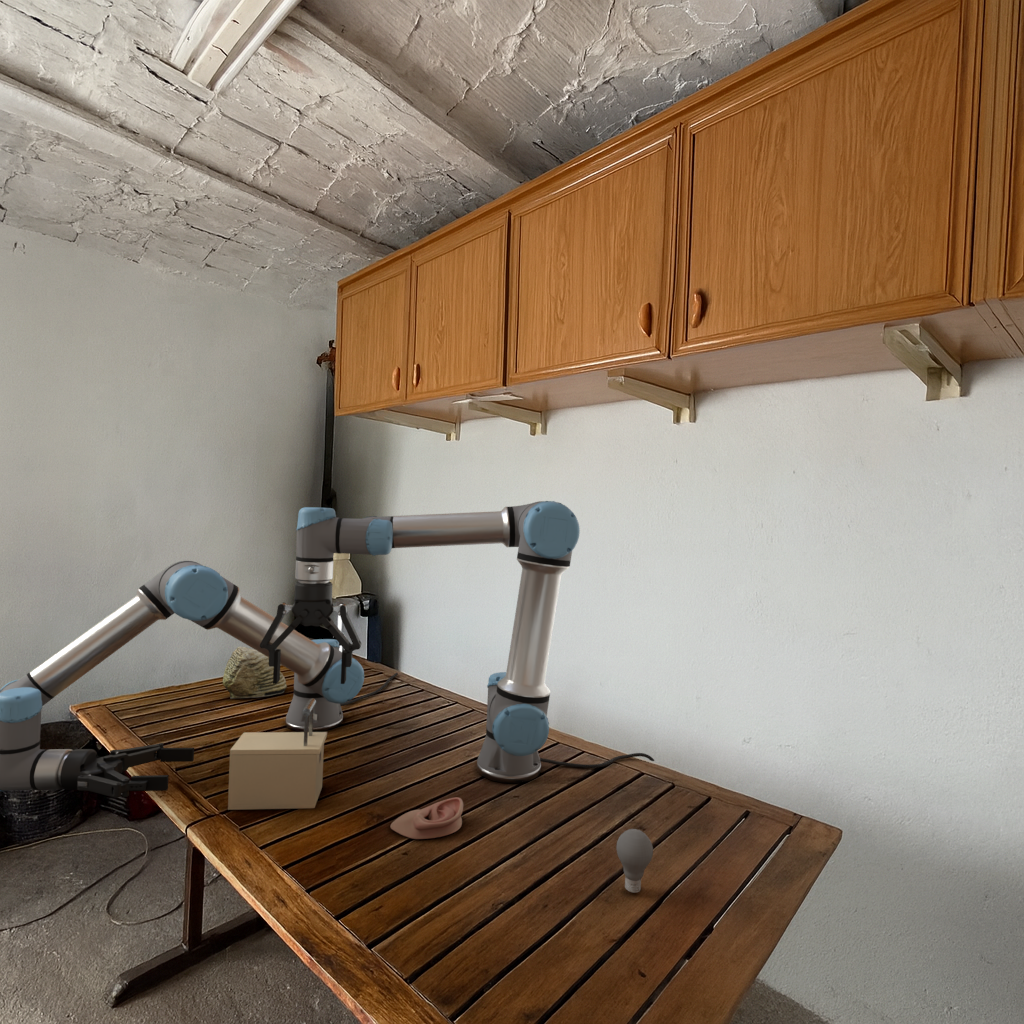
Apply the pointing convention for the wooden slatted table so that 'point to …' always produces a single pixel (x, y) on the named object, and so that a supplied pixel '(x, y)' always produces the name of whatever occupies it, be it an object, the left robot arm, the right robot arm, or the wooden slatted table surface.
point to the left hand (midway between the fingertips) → (181, 768)
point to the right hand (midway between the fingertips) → (310, 682)
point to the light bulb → (634, 857)
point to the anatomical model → (431, 820)
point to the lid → (283, 739)
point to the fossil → (251, 675)
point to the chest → (275, 781)
